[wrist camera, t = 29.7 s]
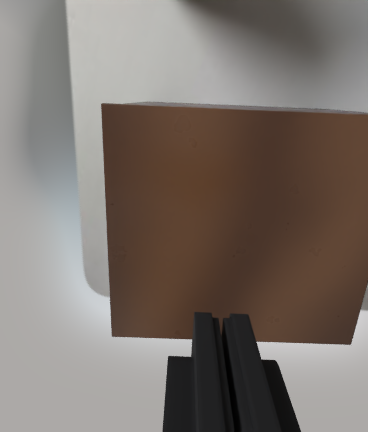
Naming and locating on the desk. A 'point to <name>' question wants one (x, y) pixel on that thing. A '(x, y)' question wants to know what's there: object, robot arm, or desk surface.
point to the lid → (236, 220)
